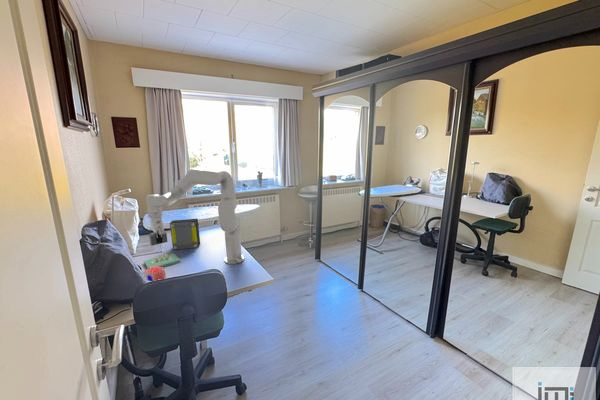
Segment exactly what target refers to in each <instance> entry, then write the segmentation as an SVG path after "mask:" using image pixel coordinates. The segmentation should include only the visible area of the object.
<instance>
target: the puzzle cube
mask: <svg viewBox="0 0 600 400" xmlns="http://www.w3.org/2000/svg"><path fill="white" fill-rule="evenodd" d="M142 274H143V275H144V277H145V278H146V280H147V281H154V280H158V279H164V278H166V279H167V275H166V269H165V267H159V266H155V265H154V266H152V267H150V268H146V269H144V270H142V271H141V275H142Z"/></svg>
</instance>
